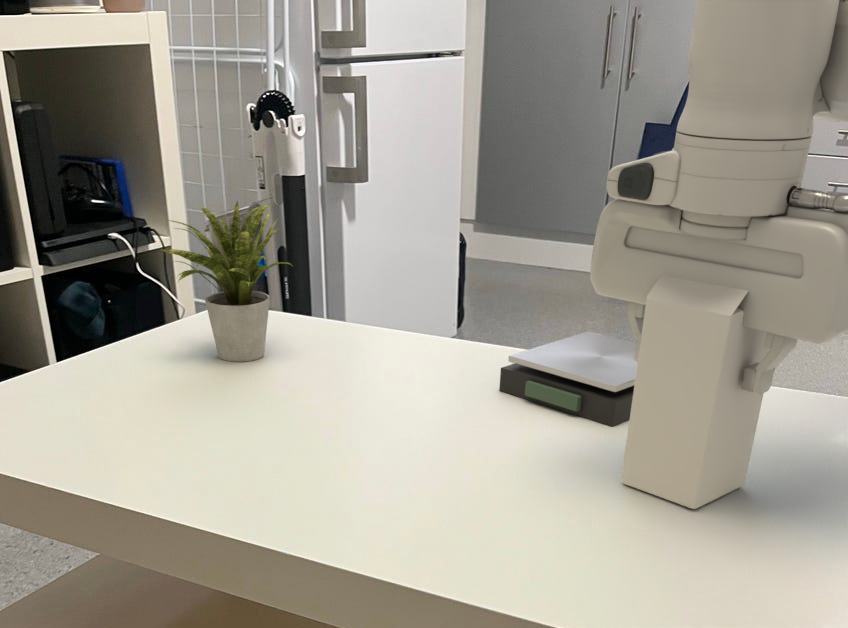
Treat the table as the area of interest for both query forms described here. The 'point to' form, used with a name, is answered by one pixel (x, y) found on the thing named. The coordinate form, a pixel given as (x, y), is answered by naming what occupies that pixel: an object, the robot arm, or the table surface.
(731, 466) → the milk carton
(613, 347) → the scale platform
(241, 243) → the house plant
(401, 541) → the table surface
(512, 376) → the scale
